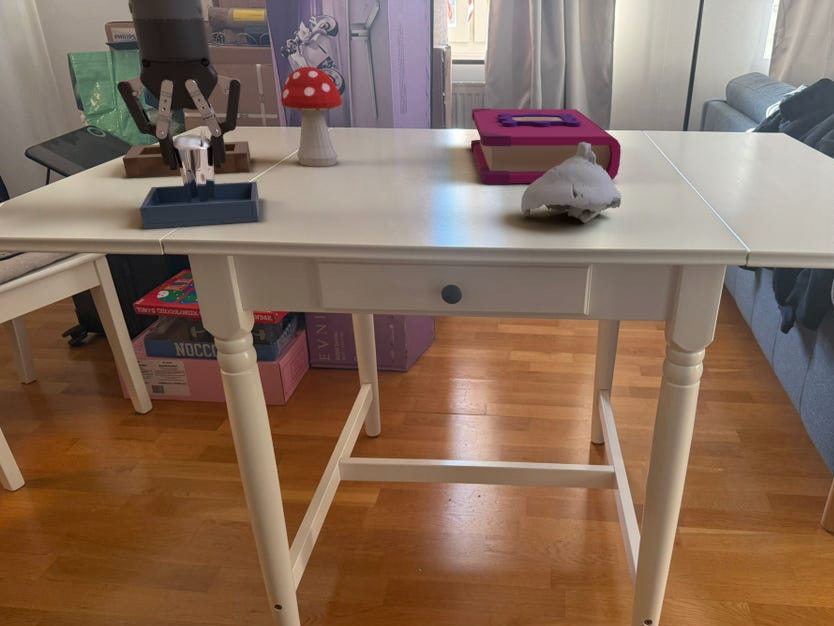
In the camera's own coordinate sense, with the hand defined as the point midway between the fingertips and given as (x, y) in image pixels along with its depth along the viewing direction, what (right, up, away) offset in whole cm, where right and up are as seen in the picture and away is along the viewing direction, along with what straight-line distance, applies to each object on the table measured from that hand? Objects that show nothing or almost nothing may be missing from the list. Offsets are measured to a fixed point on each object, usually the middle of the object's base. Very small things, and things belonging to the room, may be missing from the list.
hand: (196, 167), depth 84 cm
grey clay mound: (+47, -6, +2) cm, 48 cm away
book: (+45, +9, +31) cm, 55 cm away
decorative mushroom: (+8, +9, +30) cm, 32 cm away
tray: (0, -5, +3) cm, 6 cm away
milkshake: (0, -5, +3) cm, 6 cm away
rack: (-11, +7, +26) cm, 29 cm away
